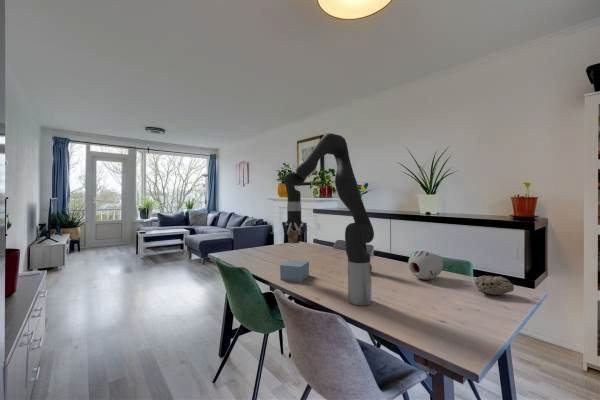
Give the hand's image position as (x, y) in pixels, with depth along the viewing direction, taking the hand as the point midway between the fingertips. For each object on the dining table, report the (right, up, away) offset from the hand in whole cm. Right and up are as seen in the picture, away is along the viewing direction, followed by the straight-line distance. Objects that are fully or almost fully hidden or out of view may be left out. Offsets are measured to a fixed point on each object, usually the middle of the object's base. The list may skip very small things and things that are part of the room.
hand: (294, 241), depth 147 cm
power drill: (+37, -19, +13) cm, 44 cm away
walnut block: (0, -1, 0) cm, 1 cm away
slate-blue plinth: (0, -20, +1) cm, 20 cm away
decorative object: (+70, -19, -4) cm, 73 cm away
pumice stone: (+88, -19, -28) cm, 94 cm away
